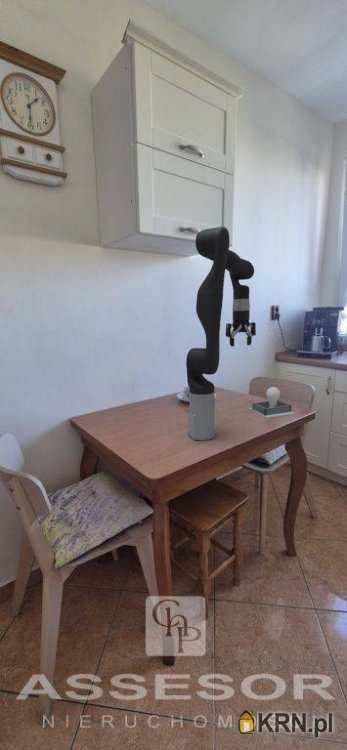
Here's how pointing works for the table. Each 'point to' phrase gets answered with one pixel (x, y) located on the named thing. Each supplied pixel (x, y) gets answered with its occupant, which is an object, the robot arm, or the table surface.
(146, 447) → the table surface
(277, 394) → the lightbulb
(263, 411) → the grey flat square tray
